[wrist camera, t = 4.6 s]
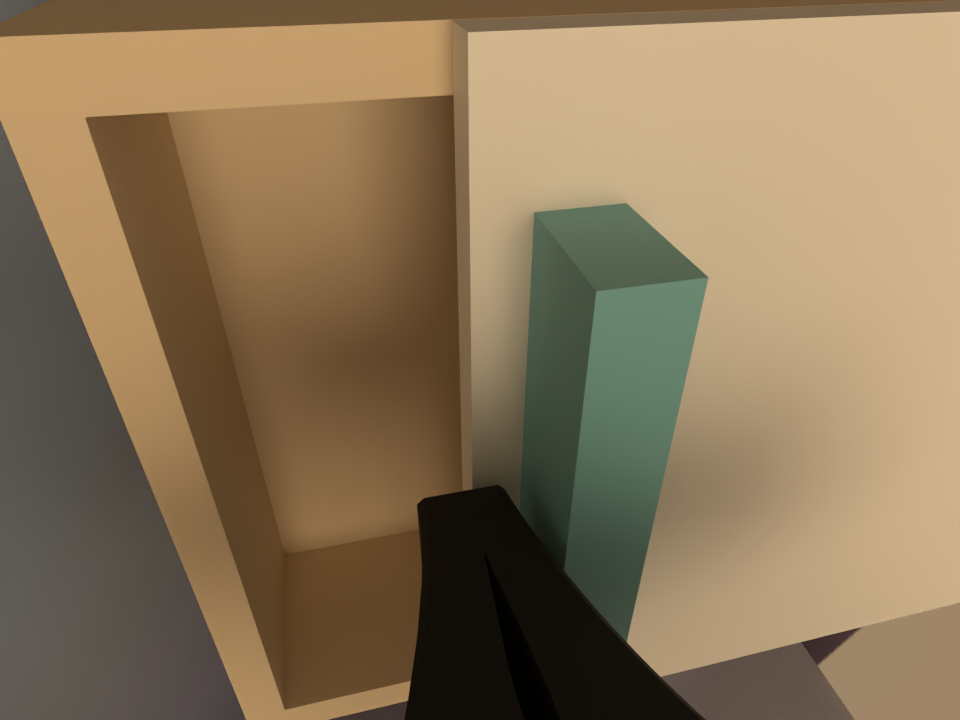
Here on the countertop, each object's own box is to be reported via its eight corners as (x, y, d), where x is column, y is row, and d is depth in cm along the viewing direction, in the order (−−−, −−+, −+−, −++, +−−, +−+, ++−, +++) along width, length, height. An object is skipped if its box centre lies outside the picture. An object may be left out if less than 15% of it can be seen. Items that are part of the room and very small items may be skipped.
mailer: (872, 441, 22) (999, 560, 18) (260, 555, 18) (253, 737, 14) (1095, -42, 14) (1409, -18, 10) (88, -18, 10) (-34, 37, 6)
